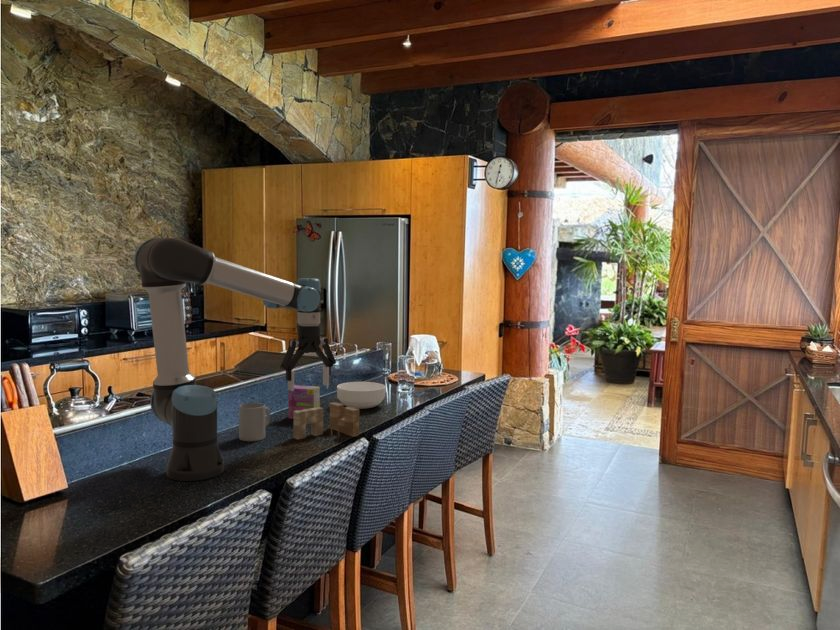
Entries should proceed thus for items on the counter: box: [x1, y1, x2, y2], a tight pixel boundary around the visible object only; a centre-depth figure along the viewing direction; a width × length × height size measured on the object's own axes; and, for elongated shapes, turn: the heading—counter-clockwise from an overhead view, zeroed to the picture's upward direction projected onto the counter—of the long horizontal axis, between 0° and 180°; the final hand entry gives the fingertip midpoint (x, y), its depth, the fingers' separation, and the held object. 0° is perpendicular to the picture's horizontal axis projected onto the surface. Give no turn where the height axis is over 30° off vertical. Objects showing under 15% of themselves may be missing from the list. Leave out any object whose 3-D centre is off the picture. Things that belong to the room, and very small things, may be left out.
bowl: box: [336, 381, 386, 410], centre depth 260 cm, size 20×20×8 cm
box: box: [287, 384, 321, 420], centre depth 240 cm, size 10×6×12 cm, turn 76°
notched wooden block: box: [329, 401, 360, 437], centre depth 222 cm, size 2×14×9 cm, turn 42°
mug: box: [238, 402, 271, 442], centre depth 213 cm, size 12×8×11 cm
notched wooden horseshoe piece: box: [292, 406, 324, 440], centre depth 216 cm, size 10×2×9 cm, turn 132°
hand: (308, 387), depth 215 cm, fingers open, 13 cm apart
